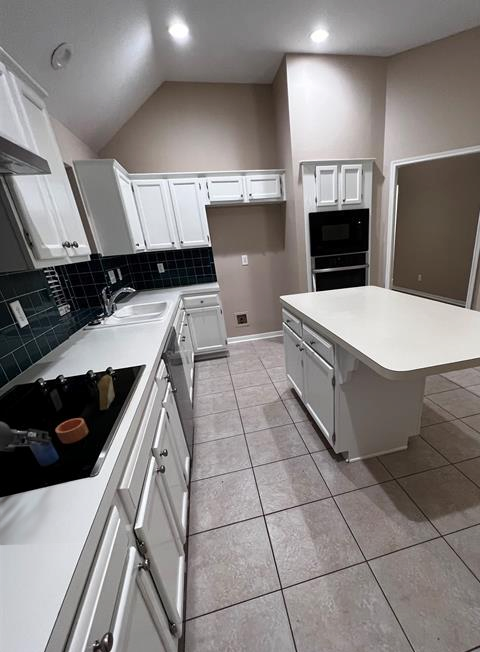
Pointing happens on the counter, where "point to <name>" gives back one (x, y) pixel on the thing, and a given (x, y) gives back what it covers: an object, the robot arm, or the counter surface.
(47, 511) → the counter surface
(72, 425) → the ring
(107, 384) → the rock
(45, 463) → the blue cylinder
